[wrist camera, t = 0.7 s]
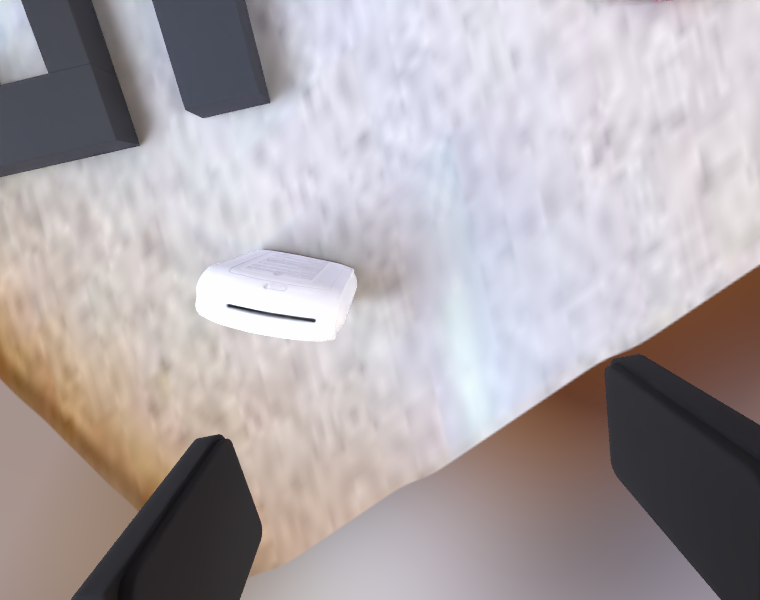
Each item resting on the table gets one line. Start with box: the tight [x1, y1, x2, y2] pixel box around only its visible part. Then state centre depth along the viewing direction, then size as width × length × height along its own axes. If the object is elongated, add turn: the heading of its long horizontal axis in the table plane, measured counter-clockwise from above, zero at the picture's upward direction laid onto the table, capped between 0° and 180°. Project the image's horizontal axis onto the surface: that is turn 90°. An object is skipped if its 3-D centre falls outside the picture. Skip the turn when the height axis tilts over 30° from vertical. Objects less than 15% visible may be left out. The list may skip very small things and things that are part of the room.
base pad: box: [0, 0, 140, 177], centre depth 30 cm, size 12×14×3 cm
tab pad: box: [152, 0, 270, 118], centre depth 29 cm, size 10×6×3 cm, turn 11°
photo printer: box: [196, 250, 357, 341], centre depth 30 cm, size 10×4×12 cm, turn 79°
